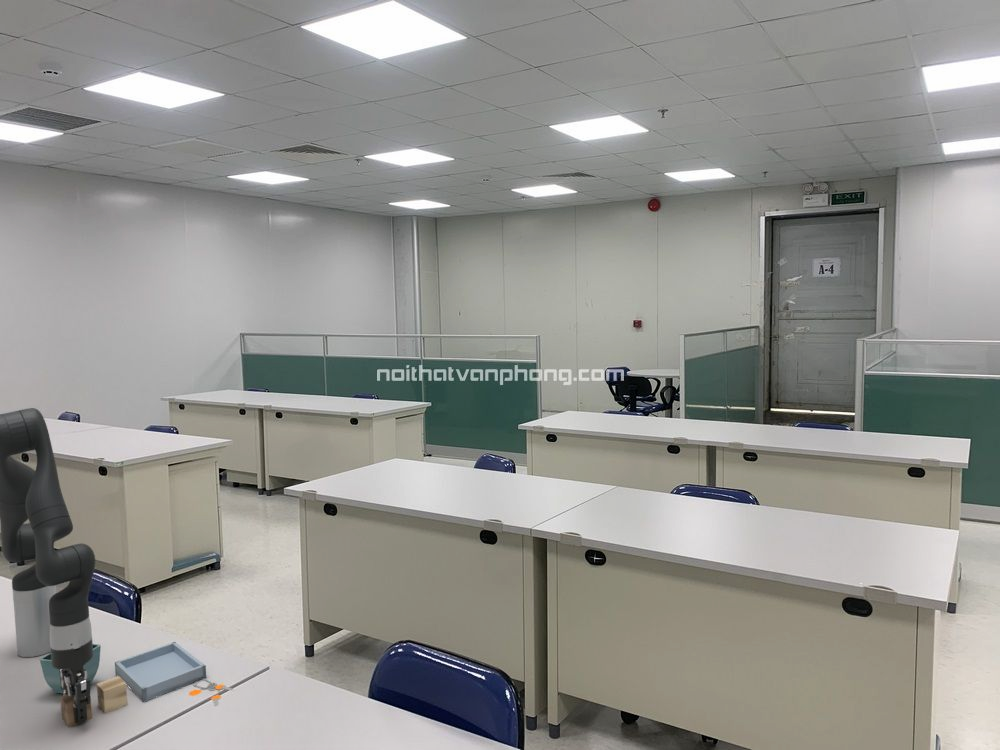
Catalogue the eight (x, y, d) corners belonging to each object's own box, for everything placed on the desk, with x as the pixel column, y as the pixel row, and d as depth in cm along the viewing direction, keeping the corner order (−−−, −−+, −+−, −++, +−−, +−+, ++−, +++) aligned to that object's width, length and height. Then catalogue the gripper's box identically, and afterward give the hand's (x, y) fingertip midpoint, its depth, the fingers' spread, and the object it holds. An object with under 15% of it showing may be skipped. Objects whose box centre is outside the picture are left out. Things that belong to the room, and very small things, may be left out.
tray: (115, 674, 166) (114, 662, 166) (175, 653, 176) (174, 641, 176) (143, 702, 154) (142, 689, 154) (206, 677, 164) (205, 665, 164)
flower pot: (74, 701, 155) (71, 662, 154) (41, 697, 157) (38, 659, 156) (104, 680, 163) (101, 644, 163) (72, 677, 165) (69, 641, 164)
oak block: (98, 705, 153) (96, 683, 153) (120, 697, 156) (118, 675, 156) (105, 713, 150) (103, 691, 150) (127, 704, 153) (126, 683, 153)
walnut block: (61, 719, 148) (60, 696, 148) (85, 710, 151) (84, 688, 151) (68, 727, 145) (66, 704, 144) (92, 718, 148) (90, 695, 148)
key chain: (179, 692, 158) (179, 689, 158) (208, 678, 164) (207, 675, 164) (214, 709, 151) (213, 705, 151) (242, 693, 157) (242, 689, 157)
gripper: (41, 635, 149) (47, 711, 150) (60, 657, 139) (66, 738, 140) (80, 624, 154) (85, 697, 156) (102, 644, 144) (107, 722, 146)
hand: (76, 716), depth 148 cm, fingers open, 5 cm apart
